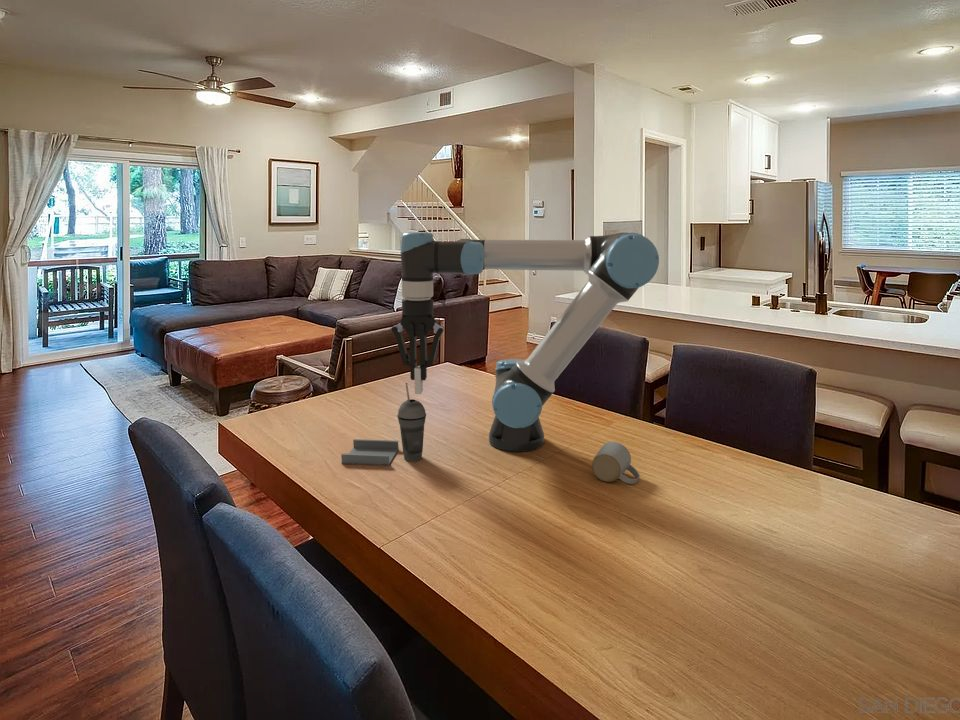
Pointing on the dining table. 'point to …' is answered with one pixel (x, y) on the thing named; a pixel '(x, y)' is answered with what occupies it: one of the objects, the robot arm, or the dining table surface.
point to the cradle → (371, 452)
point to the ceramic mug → (614, 463)
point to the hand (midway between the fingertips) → (418, 392)
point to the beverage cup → (412, 428)
